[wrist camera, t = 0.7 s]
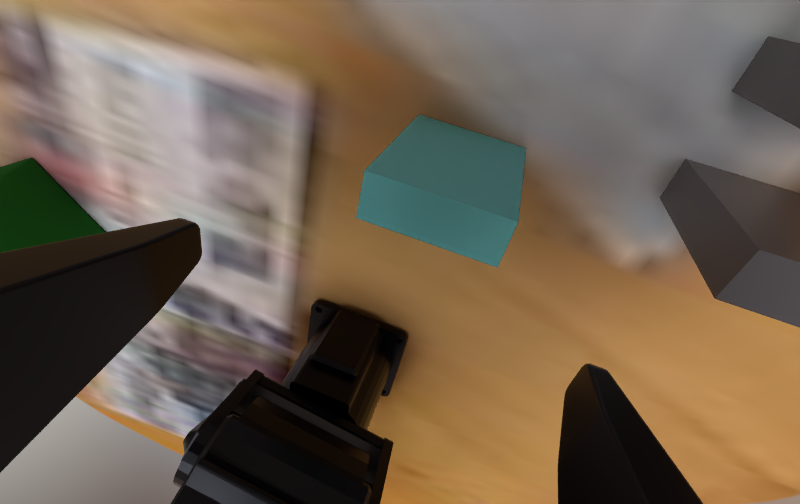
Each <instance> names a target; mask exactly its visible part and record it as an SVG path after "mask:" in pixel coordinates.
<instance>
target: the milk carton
mask: <svg viewBox="0 0 800 504" xmlns="http://www.w3.org/2000/svg"><path fill="white" fill-rule="evenodd" d="M100 233H105V232H104V231H103V230H102V229H101V228H100V227H99V226H98V224H97V223H96V222H95V221H94V220H93V219H92V218H91V217H90V216H89V215H88V214H87V213H86V212H85V211H84V210H83V209H82V208H81V207H80V206H79V205H78V204H77V203H76V202H75V201H74V200H73V199H72V198H71V197H70V196H69V195H68V194H67V193H66V192H65V191H64V190H63V189H62V188H61V187H60V186H59V185H58V184H57V183H56V182H55V181H54V180H53V179H52V178H51V177H50V175H49V174H48V173H47V172H46V171H45V170H44V169H43V168H42V167H41V166H40V165H39V164H38V163H37V162H36V161H35V160H34V159H33V158H29V159H25V160H22V161H19V162H16V163H12V164H9V165H6V166H2V167H0V253H2V252H7V251H12V250H17V249H22V248H28V247H33V246H38V245H43V244H48V243H54V242H59V241H64V240H69V239H74V238H79V237H85V236H90V235H95V234H100Z"/></svg>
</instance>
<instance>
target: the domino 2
mask: <svg viewBox="0 0 800 504" xmlns="http://www.w3.org/2000/svg"><path fill="white" fill-rule="evenodd" d="M660 199H661V201H662V203H663V204H664V206H665V208H666V210H667V212H668V214H669V216H670V217H671V219H672V221H673V223H674V225H675V227H676V228H677V230H678V232H679V234H680V236H681V238H682V239H683V241H684V243H685V245H686V247H687V249H688V250H689V252H690V254H691V256H692V258H693V260H694V261H695V263H696V265H697V267H698V269H699V271H700V272H701V274H702V276H703V278H704V280H705V282H706V284H707V285H708V287H709V289H710V291H711V293H712V295H713V296H714V298H715V299H718V300H720V301H723V302H726V303H729V304H732V305H735V306H738V307H741V308H744V309H747V310H750V311H753V312H756V313H759V314H762V315H765V316H768V317H771V318H773V319H776V320H779V321H782V322H785V323H788V324H791V325H794V326H797V327H800V194H799V193H796V192H793V191H789V190H786V189H783V188H780V187H776V186H773V185H770V184H766V183H763V182H760V181H757V180H753V179H750V178H747V177H743V176H740V175H737V174H734V173H730V172H727V171H724V170H720V169H717V168H714V167H711V166H707V165H704V164H701V163H697V162H694V161H691V160H688V159H686V160H685V161H684V162H683V164H682V165H681V167H680V168H679V170H678V171H677V173H676V174H675V176H674V177H673V179H672V180H671V182H670V183H669V185H668V186H667V188H666V189H665V191H664V192H663V194H662V195H661V197H660Z"/></svg>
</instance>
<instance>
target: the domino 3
mask: <svg viewBox="0 0 800 504" xmlns="http://www.w3.org/2000/svg"><path fill="white" fill-rule="evenodd" d="M732 91H733V92H735V93H737V94H739V95H740V96H742V97H744V98H746V99H748V100H749V101H751V102H753V103H755V104H757V105H758V106H760V107H762V108H764V109H766V110H767V111H769V112H771V113H773V114H775V115H776V116H778V117H780V118H782V119H784V120H785V121H787V122H789V123H791V124H793V125H794V126H796V127H798V128H800V44H799V43H795V42H791V41H786V40H782V39H777V38H773V37H768V38H767V40H766V41H765V42H764V44H763V45H762V47H761V48H760V50H759V51H758V53H757V54H756V56H755V57H754V59H753V60H752V62H751V63H750V65H749V66H748V68H747V69H746V71H745V72H744V74H743V75H742V77H741V78H740V79H739V81H738V82H737V84H736V85H735V87H734V88H733V90H732Z"/></svg>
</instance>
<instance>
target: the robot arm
mask: <svg viewBox="0 0 800 504" xmlns="http://www.w3.org/2000/svg"><path fill="white" fill-rule="evenodd" d="M201 255H202V247H201V235H200V228H199V226H198V225H197V224H196V223H194V222H191V221H188V220H186V219H182V218H178V219H173V220H168V221H162V222H157V223H152V224H147V225H142V226H136V227H131V228H126V229H121V230H116V231H111V232H105V233H100V234H95V235H90V236H85V237H79V238H74V239H69V240H64V241H59V242H54V243H48V244H43V245H38V246H33V247H28V248H22V249H17V250H12V251H7V252H2V253H0V472H1V471H2V470H3V469H4V468H5V467H6V466H7V465H8V464H9V463H10V462H11V461H12V460H13V459H14V458H15V457H16V456H17V455H18V454H19V453H20V452H21V451H22V450H23V449H24V448H25V447H26V446H27V445H28V444H29V443H30V442H31V441H32V440H33V439H34V438H35V437H36V436H37V435H38V434H39V432H41V431H42V430H43V429H44V427H46V426H47V424H49V422H50V421H52V420H53V418H54V417H56V415H57V414H59V412H60V411H61V410H62V409H63V408H64V407H65V406H66V405H67V404H68V403H69V402H70V401H71V400H72V399H73V398H74V397H75V396H76V395H77V394H78V393H79V392H80V391H81V390H82V389H83V388H84V387H85V386H86V385H87V384H88V383H89V382H90V381H91V380H92V379H93V378H94V377H95V376H96V375H97V374H98V373H99V372H100V371H101V370H102V369H103V368H104V367H105V366H106V365H107V364H108V363H109V362H110V361H111V360H112V359H113V358H114V357H115V356H116V355H117V354H118V353H119V352H120V351H121V350H122V349H123V348H124V347H125V345H126V344H127V343H128V342H129V341H130V340H131V339H132V338H133V337H134V336H135V335H136V334H137V333H138V332H139V331H140V330H141V329H142V328H143V327H144V326H145V325H146V324H147V323H148V322H149V321H150V320H151V319H152V318H153V317H154V316H155V315H156V314H157V313H158V312H159V311H160V309H161V308H162V307H163V306H164V305H165V304H166V302H167V301H168V300H169V299H170V297H171V296H172V295H173V294H174V292H175V291H176V290H177V289H178V287H179V286H180V285H181V284H182V282H183V281H184V280H185V279H186V277H187V276H188V275H189V274H190V272H191V271H192V270H193V269H194V267H195V266H196V265H197V264H198V262H199V260H200V258H201ZM319 307H320V308H319ZM398 337H399V338H401V339H399V338H398ZM407 340H408V336H407V334H406V333H405V332H404V331H402V330H399V329H396V328H394V327H391V326H388V325H386V324H383V323H380V322H378V321H375V320H373V319H370V318H367V317H365V316H362V315H359V314H357V313H354V312H351V311H349V310H346V309H344V308H341V307H338V306H336V305H333V304H330V303H328V302H325V301H322V300H317V301H315V302H314V304H313V305H312V309H311V317H310V326H309V334H308V342H307V345H306V347H305V348H304V350H303V351H302V353H301V354H300V356H299V357H298V359H297V360H296V362H295V363H294V365H293V366H292V368H291V369H290V371H289V372H288V374H287V375H286V377H285V378H284V380H283V382H282V383H281V384H279V383H277V382H275V381H273V380H271V379H269V378H267V377H265V376H264V374H263V373H262V372H260V371H258V370H255V371H254V372H253V373H252V374H251V375H250V376H249V377H248V378H247V379H243V380H242V381H241V382H239V384H238V385H237V386H236V387H235V389H234V390H233V391H232V392H231V393H230V394H229V396H228V397H227V398H226V399H225V400H224V401H223V402H222V403H221V404H220V405H219V406H218V407H217V408H216V410H215V411H214V412H213V413H212V414H210V415H209V416H208V417H207V418H206V419H204V420H203V421H202V422H201V423H199V424H198V425H197V426H196V427H195V428H193V429H192V430H191V431H190V432H189V433H188V434H187V436H186V437H185V439H184V441H183V445H184V453H185V454H184V456H183V458H182V460H181V463H180V466H179V468H178V470H177V472H176V474H175V477H174V481H173V482H174V484H175V485H177V486H178V487H180V489H179V491H178V493H177V494H176V496H175V498H174V499H173V501H172V503H171V504H380V501H381V497H382V492H383V488H384V483H385V479H386V474H387V470H388V465H389V460H390V456H391V451H392V447H393V442H392V441H390V440H388V439H387V438H384V439H383V438H381V437H379V436H377V435H375V434H373V433H372V432H370V431H368V430H367V428H368V426H369V423H370V421H371V418H372V416H373V413H374V411H375V408H376V406H377V403H378V401H379V398H380V396H388V395H389V393H390V390H391V387H392V384H393V382H394V379H395V376H396V373H397V370H398V367H399V364H400V361H401V358H402V355H403V352H404V349H405V346H406V343H407ZM558 504H703V503H702V501H701V500H700V498H699V497H698V496H697V494H696V493H695V491H694V490H693V489H692V487H691V486H690V484H689V483H688V482H687V480H686V479H685V478H684V476H683V475H682V473H681V472H680V471H679V469H678V468H677V466H676V465H675V464H674V462H673V461H672V459H671V458H670V457H669V455H668V454H667V452H666V451H665V450H664V448H663V447H662V446H661V444H660V443H659V441H658V440H657V439H656V437H655V436H654V434H653V433H652V432H651V430H650V429H649V427H648V426H647V425H646V423H645V422H644V420H643V419H642V418H641V416H640V415H639V414H638V412H637V411H636V409H635V408H634V407H633V405H632V404H631V402H630V401H629V400H628V398H627V397H626V395H625V394H624V393H623V391H622V390H621V388H620V387H619V386H618V384H617V383H616V382H615V380H614V379H613V377H612V376H611V375H610V373H609V372H608V371H607V370H605V369H603V368H600V367H598V366H595V365H592V364H585V365H584V366H583V367H582V368H581V369H580V371H579V372H578V373H577V375H576V376H575V378H574V379H573V380H572V382H571V383H570V385H569V386H568V388H567V390H566V393H565V397H564V407H563V417H562V427H561V437H560V447H559V458H558Z"/></svg>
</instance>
